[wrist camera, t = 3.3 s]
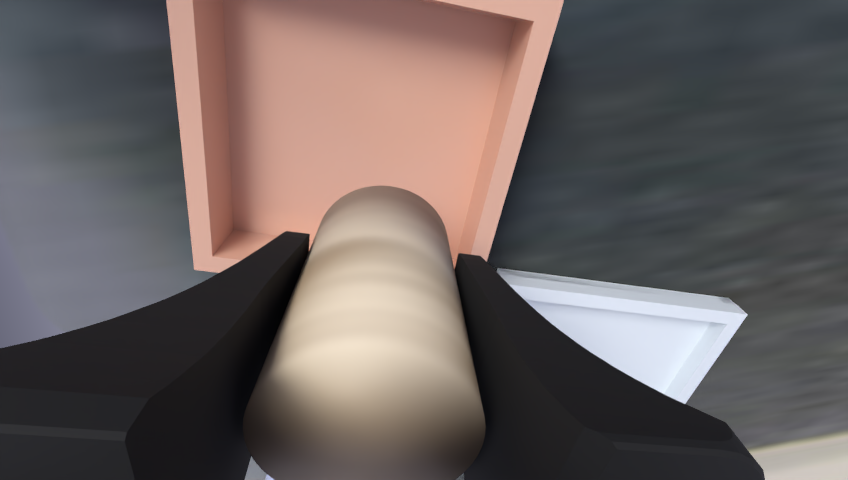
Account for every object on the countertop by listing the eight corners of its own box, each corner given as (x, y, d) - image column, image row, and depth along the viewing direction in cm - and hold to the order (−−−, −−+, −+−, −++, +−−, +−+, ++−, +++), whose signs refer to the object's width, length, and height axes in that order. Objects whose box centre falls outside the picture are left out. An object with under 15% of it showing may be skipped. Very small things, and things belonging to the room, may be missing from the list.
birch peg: (435, 305, 14) (458, 510, 8) (313, 292, 13) (246, 500, 8) (460, 196, 12) (513, 361, 6) (320, 176, 11) (237, 335, 6)
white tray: (629, 448, 30) (639, 468, 29) (445, 434, 29) (447, 454, 27) (728, 298, 24) (747, 314, 22) (497, 267, 22) (503, 283, 21)
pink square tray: (465, 268, 22) (474, 302, 19) (221, 237, 20) (194, 269, 18) (538, 1, 16) (564, -2, 13) (201, -72, 14) (157, -91, 12)
